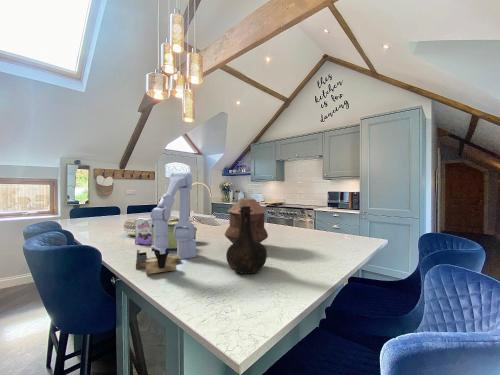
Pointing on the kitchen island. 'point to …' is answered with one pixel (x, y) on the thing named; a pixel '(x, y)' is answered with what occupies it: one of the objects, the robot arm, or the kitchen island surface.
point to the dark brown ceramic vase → (246, 247)
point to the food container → (195, 232)
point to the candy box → (143, 231)
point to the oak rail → (154, 268)
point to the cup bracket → (141, 257)
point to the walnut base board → (143, 265)
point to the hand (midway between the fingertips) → (161, 266)
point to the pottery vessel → (256, 220)
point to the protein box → (171, 240)
